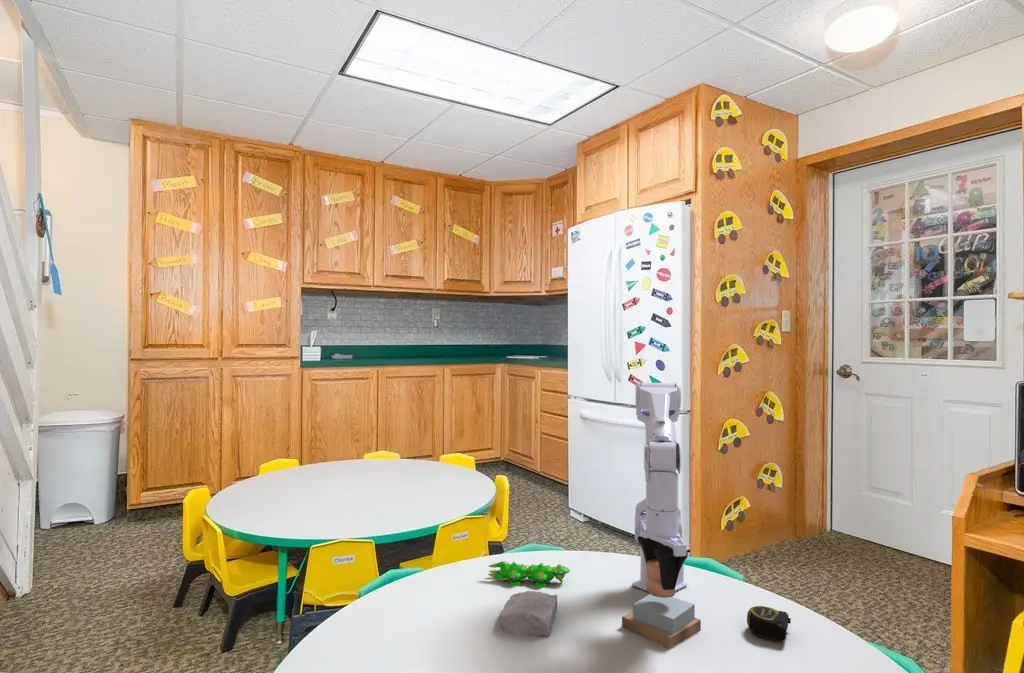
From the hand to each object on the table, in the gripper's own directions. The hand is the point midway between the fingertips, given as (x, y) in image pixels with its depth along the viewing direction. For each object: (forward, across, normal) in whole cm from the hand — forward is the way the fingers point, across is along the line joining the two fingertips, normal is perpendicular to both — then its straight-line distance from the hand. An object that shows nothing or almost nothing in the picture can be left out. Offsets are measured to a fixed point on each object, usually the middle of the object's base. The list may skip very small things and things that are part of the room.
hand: (661, 582), depth 102 cm
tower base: (+9, 0, 0) cm, 9 cm away
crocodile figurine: (+9, -25, -19) cm, 32 cm away
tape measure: (+9, +5, +19) cm, 21 cm away
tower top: (+6, 0, 0) cm, 6 cm away
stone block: (+9, -7, -23) cm, 26 cm away
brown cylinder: (+2, 0, 0) cm, 2 cm away
